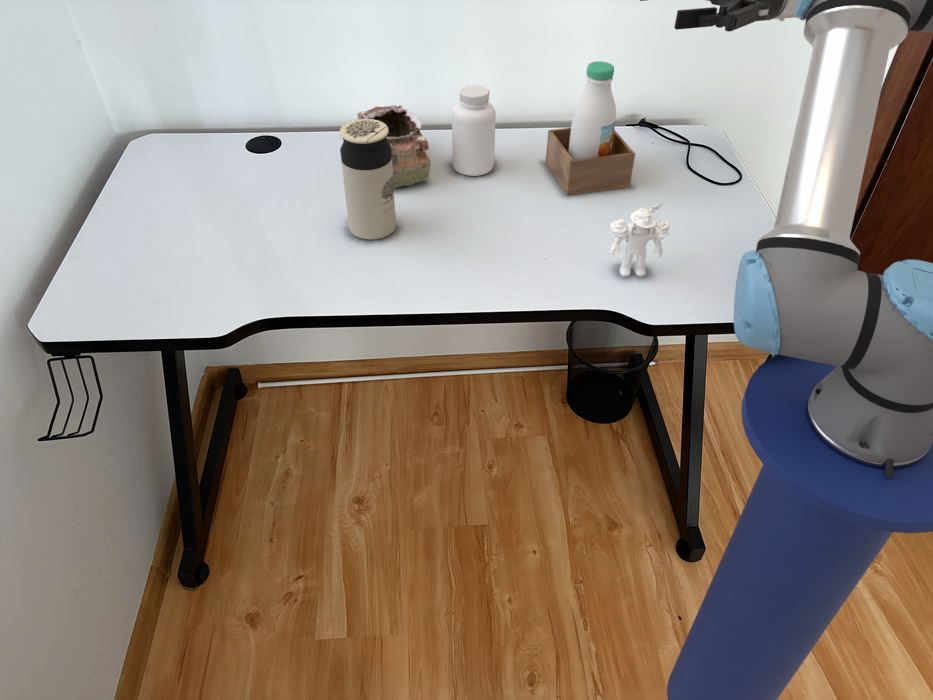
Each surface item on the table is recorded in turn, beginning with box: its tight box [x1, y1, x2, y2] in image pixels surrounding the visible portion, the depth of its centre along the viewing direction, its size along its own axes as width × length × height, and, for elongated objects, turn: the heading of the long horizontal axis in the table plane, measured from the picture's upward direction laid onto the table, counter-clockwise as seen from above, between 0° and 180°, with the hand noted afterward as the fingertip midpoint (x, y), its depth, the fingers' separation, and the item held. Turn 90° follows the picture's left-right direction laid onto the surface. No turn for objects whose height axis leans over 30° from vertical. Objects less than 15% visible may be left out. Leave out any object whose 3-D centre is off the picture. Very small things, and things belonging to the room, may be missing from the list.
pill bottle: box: [451, 84, 497, 177], centre depth 139 cm, size 8×8×15 cm
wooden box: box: [545, 127, 636, 196], centre depth 140 cm, size 12×12×7 cm
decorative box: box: [356, 104, 432, 189], centre depth 141 cm, size 13×20×10 cm, turn 16°
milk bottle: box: [568, 60, 617, 160], centre depth 135 cm, size 8×8×20 cm
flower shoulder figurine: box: [609, 202, 670, 277], centre depth 117 cm, size 9×4×12 cm, turn 89°
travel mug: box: [339, 118, 397, 240], centre depth 123 cm, size 8×8×18 cm
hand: (658, 5), depth 124 cm, fingers open, 13 cm apart
